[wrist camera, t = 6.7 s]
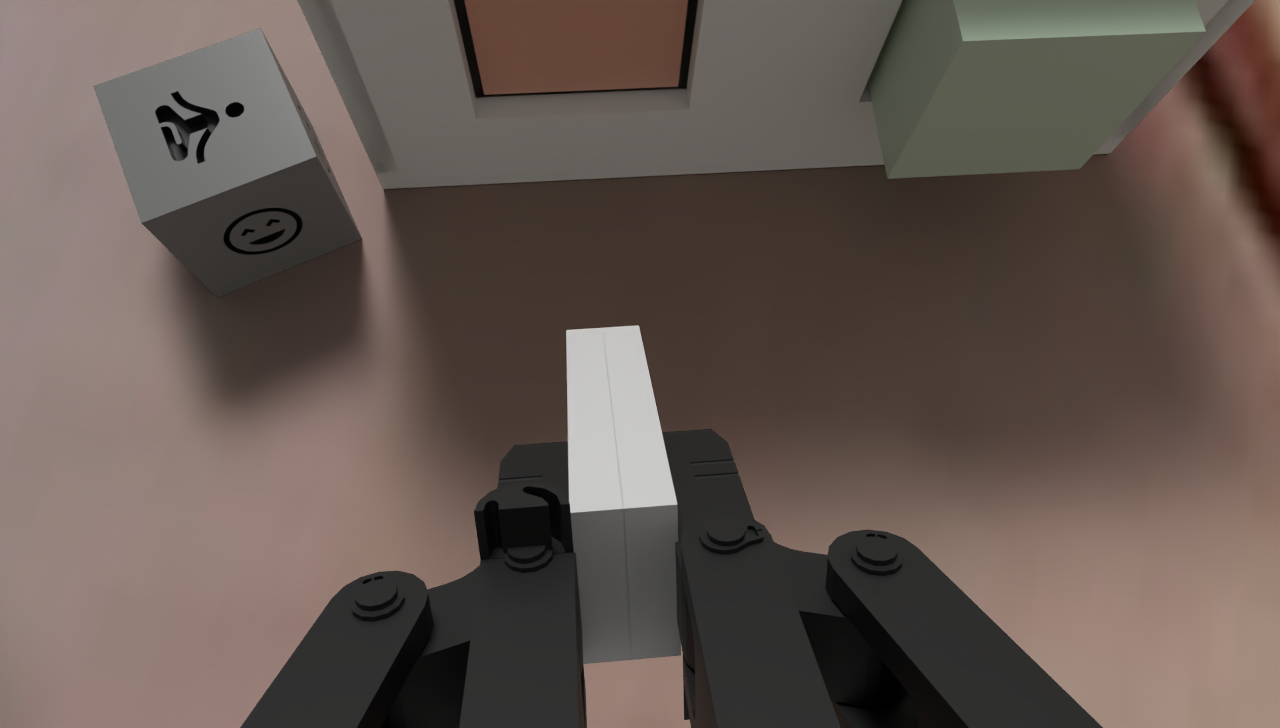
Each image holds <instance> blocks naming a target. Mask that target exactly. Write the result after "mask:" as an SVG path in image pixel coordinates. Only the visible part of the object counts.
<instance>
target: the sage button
mask: <svg viewBox="0 0 1280 728" xmlns="http://www.w3.org/2000/svg"><path fill="white" fill-rule="evenodd" d="M1205 32H1206V30H1205V27H1204V24H1203V22H1202V19H1201V16H1200V14H1199V11H1198V8H1197V5H1196V3H1195V0H902V3H901V5H900V7H899V10H898V12H897V14H896V17H895V19H894V21H893V24H892V26H891V28H890V30H889V33H888V35H887V37H886V40H885V42H884V44H883V47H882V49H881V51H880V54H879V56H878V58H877V61H876V63H875V65H874V68H873V70H872V72H871V75H870V77H869V79H868V86H869V91H870V95H871V100H872V105H873V110H874V115H875V120H876V125H877V130H878V135H879V140H880V145H881V150H882V155H883V160H884V165H885V170H886V175H887V179H892V178H912V177H932V176H953V175H973V174H993V173H1013V172H1033V171H1053V170H1073V169H1080V168H1081V167H1082V166H1083V165H1084V164H1085V163H1086V162H1087V161H1088V160H1089V159H1090V157H1091V156H1092V155H1093V154H1094V153H1095V152H1096V151H1097V150H1098V149H1099V148H1100V147H1101V145H1102V144H1103V143H1104V142H1105V141H1106V140H1107V139H1108V138H1109V137H1110V136H1111V135H1112V133H1113V132H1114V131H1115V130H1116V129H1117V128H1118V127H1119V126H1120V125H1121V124H1122V123H1123V121H1124V120H1125V119H1126V118H1127V117H1128V116H1129V115H1130V114H1131V113H1132V112H1133V111H1134V109H1135V108H1136V107H1137V106H1138V105H1139V104H1140V103H1141V102H1142V101H1143V100H1144V99H1145V97H1146V96H1147V95H1148V94H1149V93H1150V92H1151V91H1152V90H1153V89H1154V88H1155V87H1156V85H1157V84H1158V83H1159V82H1160V81H1161V80H1162V79H1163V78H1164V77H1165V76H1166V75H1167V73H1168V72H1169V71H1170V70H1171V69H1172V68H1173V67H1174V66H1175V65H1176V64H1177V63H1178V61H1179V60H1180V59H1181V58H1182V57H1183V56H1184V55H1185V54H1186V53H1187V52H1188V51H1189V49H1190V48H1191V47H1192V46H1193V45H1194V44H1195V43H1196V42H1197V41H1198V40H1199V39H1200V37H1201V36H1202V35H1203V34H1204V33H1205Z"/></svg>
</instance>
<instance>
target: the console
mask: <svg viewBox="0 0 1280 728" xmlns="http://www.w3.org/2000/svg"><path fill="white" fill-rule="evenodd" d="M1254 1H1255V0H1195V3H1196V5H1197V8H1198V11H1199V14H1200V16H1201V19H1202V22H1203V24H1204V27H1205V30H1206V32H1205V33H1204V34H1203V35H1202V36H1201V37H1200V39H1199V40H1198V41H1197V42H1196V43H1195V44H1194V45H1193V46H1192V47H1191V48H1190V49H1189V51H1188V52H1187V53H1186V54H1185V55H1184V56H1183V57H1182V58H1181V59H1180V60H1179V61H1178V63H1177V64H1176V65H1175V66H1174V67H1173V68H1172V69H1171V70H1170V71H1169V72H1168V73H1167V75H1166V76H1165V77H1164V78H1163V79H1162V80H1161V81H1160V82H1159V83H1158V84H1157V85H1156V87H1155V88H1154V89H1153V90H1152V91H1151V92H1150V93H1149V94H1148V95H1147V96H1146V97H1145V99H1144V100H1143V101H1142V102H1141V103H1140V104H1139V105H1138V106H1137V107H1136V108H1135V109H1134V111H1133V112H1132V113H1131V114H1130V115H1129V116H1128V117H1127V118H1126V119H1125V120H1124V121H1123V123H1122V124H1121V125H1120V126H1119V127H1118V128H1117V129H1116V130H1115V131H1114V132H1113V133H1112V135H1111V136H1110V137H1109V138H1108V139H1107V140H1106V141H1105V142H1104V143H1103V144H1102V145H1101V147H1100V148H1099V149H1098V150H1097V151H1096V152H1095V153H1094V154H1110V153H1111V152H1112V151H1113V150H1114V149H1115V148H1116V147H1117V146H1118V145H1119V144H1120V142H1121V141H1122V140H1123V139H1124V138H1125V137H1126V136H1127V135H1128V134H1129V133H1130V132H1131V131H1132V130H1133V129H1134V128H1135V127H1136V126H1137V124H1138V123H1139V122H1140V121H1141V120H1142V119H1143V118H1144V117H1145V116H1146V115H1147V114H1148V113H1149V112H1150V111H1151V110H1152V109H1153V108H1154V107H1155V105H1156V104H1157V103H1158V102H1159V101H1160V100H1161V99H1162V98H1163V97H1164V96H1165V95H1166V94H1167V93H1168V92H1169V91H1170V90H1171V89H1172V88H1173V86H1174V85H1175V84H1176V83H1177V82H1178V81H1179V80H1180V79H1181V78H1182V77H1183V76H1184V75H1185V74H1186V73H1187V72H1188V71H1189V70H1190V68H1191V67H1192V66H1193V65H1194V64H1195V63H1196V62H1197V61H1198V60H1199V59H1200V58H1201V57H1202V56H1203V55H1204V54H1205V53H1206V52H1207V51H1208V49H1209V48H1210V47H1211V46H1212V45H1213V44H1214V43H1215V42H1216V41H1217V40H1218V39H1219V38H1220V37H1221V36H1222V35H1223V34H1224V33H1225V32H1226V30H1227V29H1228V28H1229V27H1230V26H1231V25H1232V24H1233V23H1234V22H1235V21H1236V20H1237V19H1238V18H1239V17H1240V16H1241V15H1242V14H1243V13H1244V11H1245V10H1246V9H1247V8H1248V7H1249V6H1250V5H1251V4H1252V3H1253V2H1254ZM298 2H299V5H300V7H301V9H302V11H303V13H304V16H305V18H306V20H307V22H308V24H309V27H310V29H311V31H312V33H313V35H314V38H315V40H316V42H317V44H318V46H319V49H320V51H321V53H322V55H323V57H324V60H325V62H326V64H327V66H328V68H329V71H330V73H331V75H332V77H333V79H334V82H335V84H336V86H337V88H338V90H339V93H340V95H341V97H342V99H343V101H344V104H345V106H346V108H347V110H348V112H349V115H350V117H351V119H352V121H353V123H354V126H355V128H356V130H357V132H358V134H359V137H360V139H361V141H362V143H363V145H364V148H365V150H366V152H367V154H368V156H369V159H370V161H371V163H372V165H373V167H374V170H375V172H376V174H377V176H378V178H379V181H380V183H381V185H382V187H383V189H394V188H415V187H435V186H456V185H477V184H497V183H518V182H538V181H559V180H579V179H600V178H620V177H641V176H661V175H682V174H702V173H723V172H743V171H764V170H785V169H805V168H826V167H846V166H867V165H884V160H883V155H882V150H881V145H880V140H879V135H878V130H877V125H876V120H875V115H874V110H873V105H872V100H871V95H870V91H869V86H868V79H869V77H870V75H871V72H872V70H873V68H874V65H875V63H876V61H877V58H878V56H879V54H880V51H881V49H882V47H883V44H884V42H885V40H886V37H887V35H888V33H889V30H890V28H891V26H892V24H893V21H894V19H895V17H896V14H897V12H898V10H899V7H900V5H901V3H902V0H688V6H687V15H686V23H685V32H684V41H683V49H682V58H681V66H680V75H679V83H678V87H655V88H632V89H608V90H585V91H561V92H538V93H515V94H491V95H484V91H483V87H482V82H481V77H480V72H479V68H478V63H477V58H476V53H475V49H474V44H473V39H472V34H471V30H470V25H469V20H468V15H467V11H466V6H465V1H464V0H298Z"/></svg>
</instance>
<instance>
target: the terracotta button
mask: <svg viewBox="0 0 1280 728" xmlns="http://www.w3.org/2000/svg"><path fill="white" fill-rule="evenodd" d="M464 1H465V6H466V11H467V15H468V20H469V25H470V30H471V34H472V39H473V44H474V49H475V53H476V58H477V63H478V68H479V72H480V77H481V82H482V87H483V91H484V95H491V94H515V93H538V92H561V91H585V90H608V89H632V88H655V87H678V83H679V75H680V66H681V58H682V49H683V41H684V32H685V23H686V15H687V6H688V0H464Z"/></svg>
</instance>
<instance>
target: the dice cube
mask: <svg viewBox="0 0 1280 728" xmlns="http://www.w3.org/2000/svg"><path fill="white" fill-rule="evenodd" d="M94 89H95V92H96V95H97V97H98V100H99V103H100V106H101V109H102V112H103V115H104V117H105V120H106V123H107V126H108V129H109V132H110V134H111V137H112V140H113V143H114V146H115V149H116V152H117V154H118V157H119V160H120V163H121V166H122V169H123V172H124V174H125V177H126V180H127V183H128V186H129V189H130V191H131V194H132V197H133V200H134V203H135V206H136V209H137V211H138V214H139V217H140V220H141V223H142V224H143V225H144V226H145V227H146V228H147V229H148V230H149V231H150V232H151V233H152V234H153V235H154V236H155V237H156V238H157V239H158V240H159V241H160V242H161V243H162V244H163V245H164V246H165V247H166V248H167V249H168V250H169V251H170V252H171V253H172V254H173V255H174V256H175V257H176V258H177V259H178V260H179V261H180V262H181V263H182V264H183V265H185V266H186V267H187V268H188V269H189V270H190V271H191V272H192V273H193V274H194V275H195V276H196V277H197V278H198V279H199V280H200V281H201V282H202V283H203V284H204V285H205V286H206V287H207V288H208V289H209V290H210V291H211V292H212V293H213V294H214V295H215V296H216V297H220V296H222V295H225V294H227V293H230V292H232V291H235V290H237V289H240V288H242V287H245V286H247V285H250V284H252V283H255V282H257V281H260V280H262V279H265V278H267V277H269V276H272V275H274V274H277V273H279V272H282V271H284V270H287V269H289V268H292V267H294V266H297V265H299V264H302V263H304V262H307V261H309V260H312V259H314V258H317V257H319V256H322V255H324V254H327V253H329V252H331V251H334V250H336V249H339V248H341V247H344V246H346V245H349V244H351V243H354V242H356V241H359V240H361V239H362V237H361V235H360V233H359V231H358V228H357V226H356V224H355V222H354V219H353V217H352V215H351V212H350V210H349V208H348V206H347V203H346V201H345V199H344V197H343V194H342V192H341V190H340V188H339V185H338V183H337V181H336V178H335V176H334V174H333V172H332V169H331V167H330V165H329V163H328V160H327V158H326V156H325V153H324V151H323V149H322V147H321V144H320V142H319V140H318V138H317V135H316V133H315V131H314V129H313V126H312V124H311V122H310V121H309V119H308V117H307V115H306V113H305V111H304V109H303V107H302V105H301V104H300V102H299V100H298V98H297V96H296V94H295V92H294V90H293V88H292V87H291V85H290V83H289V81H288V79H287V77H286V75H285V73H284V71H283V69H282V68H281V66H280V64H279V62H278V60H277V58H276V56H275V54H274V52H273V51H272V49H271V47H270V45H269V43H268V41H267V39H266V37H265V35H264V34H263V32H262V30H261V28H259V29H256V30H253V31H251V32H248V33H245V34H242V35H239V36H236V37H233V38H230V39H228V40H225V41H222V42H219V43H216V44H213V45H210V46H207V47H205V48H202V49H199V50H196V51H193V52H190V53H187V54H184V55H182V56H179V57H176V58H173V59H170V60H167V61H164V62H161V63H159V64H156V65H153V66H150V67H147V68H144V69H141V70H139V71H136V72H133V73H130V74H127V75H124V76H121V77H118V78H116V79H113V80H110V81H107V82H104V83H101V84H98V85H95V86H94Z"/></svg>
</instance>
